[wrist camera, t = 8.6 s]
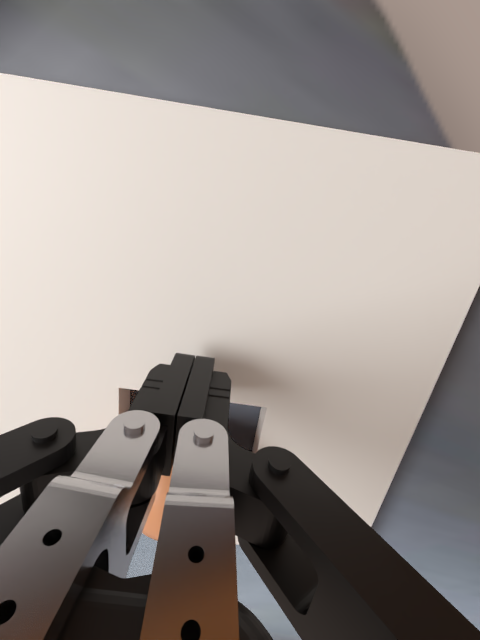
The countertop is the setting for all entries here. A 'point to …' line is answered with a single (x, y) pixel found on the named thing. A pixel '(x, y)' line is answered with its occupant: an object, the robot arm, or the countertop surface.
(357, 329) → the white square board
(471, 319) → the countertop surface
